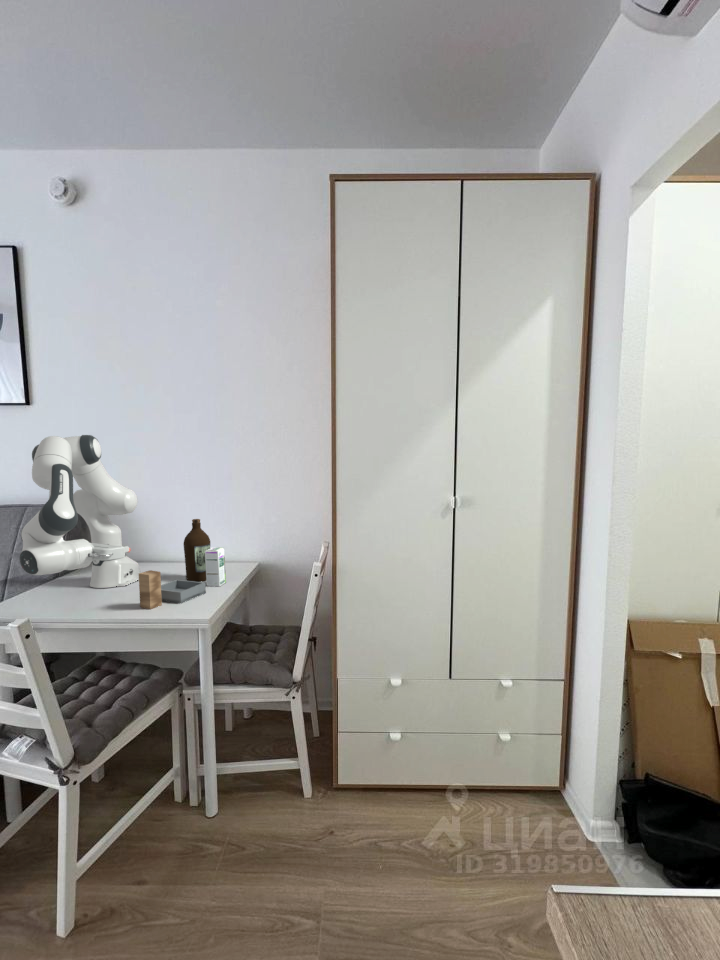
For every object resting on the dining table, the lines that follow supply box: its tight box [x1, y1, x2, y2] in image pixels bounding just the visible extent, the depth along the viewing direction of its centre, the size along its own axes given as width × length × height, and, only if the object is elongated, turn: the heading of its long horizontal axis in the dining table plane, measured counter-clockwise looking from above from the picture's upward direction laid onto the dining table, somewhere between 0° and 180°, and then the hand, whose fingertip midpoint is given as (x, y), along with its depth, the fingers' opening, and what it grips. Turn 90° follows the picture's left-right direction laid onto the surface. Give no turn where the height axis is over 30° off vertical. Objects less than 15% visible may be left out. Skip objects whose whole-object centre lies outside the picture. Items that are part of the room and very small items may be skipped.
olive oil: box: [183, 518, 211, 582], centre depth 227 cm, size 11×11×25 cm
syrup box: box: [205, 546, 227, 588], centre depth 219 cm, size 6×6×14 cm
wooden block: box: [138, 570, 163, 610], centre depth 193 cm, size 5×5×12 cm
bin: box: [161, 579, 207, 604], centre depth 204 cm, size 14×14×4 cm
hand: (117, 547), depth 181 cm, fingers open, 8 cm apart
